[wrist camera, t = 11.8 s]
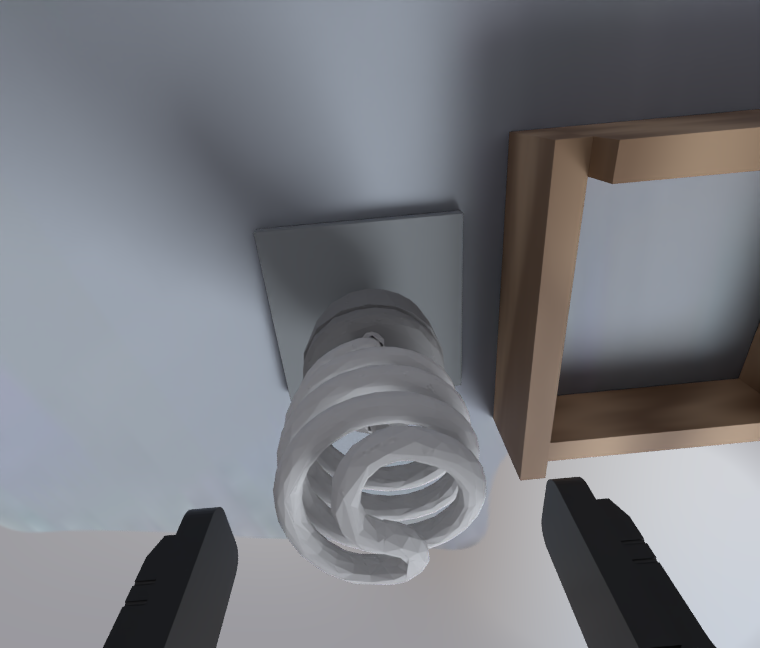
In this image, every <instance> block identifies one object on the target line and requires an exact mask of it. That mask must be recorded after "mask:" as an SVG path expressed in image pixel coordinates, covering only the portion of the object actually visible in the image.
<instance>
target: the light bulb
mask: <svg viewBox="0 0 760 648" xmlns="http://www.w3.org/2000/svg"><path fill="white" fill-rule="evenodd" d="M408 425H417V426H408ZM421 426H422V427H421ZM354 431H357V432H363V433H369V434H370V435H368V436H367V437H365V438H363V439H362V440H360V441H359V442H357V443H356V444H354V445H353V446H352V447H351V448H350V449H349V451H348V452H347V453H346V455H344V454H342V453H341V452H339V451H338V450H337V449H335V448H334V447H333V446H332V445H331V444H332V443H334V442H336V441H337V440H339V439H341V438H342V437H344V436H346V435H347V434H349V433H352V432H354ZM479 452H480V451H479V444H478V440H477V436H476V434H475V432H474V430H473V428H472V427H471V422H470V415H469V412H468V410H467V407H466V405H465V403H464V401H463V399H462V397H461V396H460V395H459V394H458V392H457V391H456V390H455V387H454V385H453V382H452V380H451V378H450V377H449V376H448V374H447V373H446V372H445V370H444V357H443V349H442V347H441V345H440V343H439V341H438V338H437V336H436V334H435V332H434V330H433V328H432V326H431V324H430V322H429V321H428V319H427V318H426V317H425V315H424V314H423V313H422V311H421V310H420V309H419V308H418V306H417V305H416V304H415V303H413V302H412V301H411V300H410V299H408V298H406V297H404V296H402V295H400V294H399V293H395V292H391V291H388V290H384V289H363V290H359V291H355V292H351V293H348V294H347V295H345V296H343V297H341V298H340V299H338V300H336V301H334V302H333V303H331V304H330V305H329V307H328V308H327V309H326V310H325V312H324V313H323V314H322V315H321V316H320V318H319V319H318V320H317V321H316V324H315V326H314V329H313V331H312V334H311V336H310V339H309V341H308V344H307V346H306V349H305V351H304V365H303V381H302V383H301V385H300V386H299V389H298V391H297V392H296V393H295V395H294V397H293V399H292V401H291V404H290V406H289V408H288V411H287V413H286V418H285V425H284V428H283V430H282V433H281V437H280V442H279V446H278V450H277V470H276V476H275V482H274V488H273V493H274V502H275V509H276V513H277V517H278V522H279V523H280V525H281V527H282V529H283V531H284V533H285V535H286V537H287V538H288V540H289V541H290V542H291V544H292V545H293V546H294V547H295V549H296V550H297V551H298V552H299V554H300V555H301V556H302V557H303V558H305V559H306V560H308V561H309V562H310V563H311V564H313V565H314V566H315V567H317V568H318V569H320V570H321V571H323V572H324V573H326V574H328V575H331V576H333V577H336V578H339V579H341V580H344V581H347V582H350V583H354V584H380V585H393V584H398V583H403V582H407V581H408V580H410V579H411V578H413V577H415V576H416V575H418V574H420V573H421V572H422V571H423V569H424V568H425V567H426V565H427V563H428V562H429V560H430V559H429V552H428V549H430V548H432V547H435V546H438V545H440V544H443V543H446V542H447V541H449V540H451V539H453V538H454V537H456V536H457V535H459V534H460V533H461V532H463V531H464V530H465V529H466V528H467V527H468V526H469V525H470V524H471V523H472V522H473V521H474V520H475V518H476V517H477V516H478V515H479V513H480V510H481V508H482V506H483V504H484V501H485V497H486V478H485V475H484V471H483V467H482V465H481V463H480V462H479ZM397 461H414V462H411V463H409V464H404V465H397V466H391V467H383V466H386V465H389V464H391V463H394V462H397ZM328 473H329V474H330V475H332V476H333V477H332V476H330V475H329V474H328ZM443 474H444V475H443ZM442 475H443V476H442ZM441 476H442V477H441ZM439 477H441V478H440V479H439V480H438V481H437V482H435V483H434V484H432V485H430V486H428V487H426V488H424V489H422V490H419V491H416V492H412V493H409V494H403V495H394V496H385V495H373V494H368V493H365V492H362V489H367V490H378V491H397V490H405V489H411V488H415V487H418V486H421V485H425V484H428V483H429V482H431V481H433V480H435V479H437V478H439ZM450 503H451V504H450ZM448 504H450V506H449V507H448V508H446V509H445V510H443V511H442V512H441V513H439V514H438V515H436V516H435V517H432V518H429V519H427V520H424V521H421V522H418V523H414V524H409V525H405V524H402V523H399V522H396V521H403V520H409V519H414V518H419V517H422V516H425V515H429V514H432V513H435V512H437V511H438V510H440V509H442V508H443V507H445V506H447V505H448ZM329 506H330V507H331V508H330V507H329ZM320 533H321V534H320ZM323 535H324V536H326V537H328V538H330V539H332V540H334V541H336V542H338V543H340V544H342V545H345V546H348V547H352V548H355V549H360V550H363V551H365V552H371V553H377V554H358V553H353V552H350V551H346V550H344V549H342V548H340V547H338V546H337V545H335V544H333V543H332V542H330V541H328V540H327V539H326V538H325V537H324V536H323Z"/></svg>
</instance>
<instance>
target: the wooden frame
mask: <svg viewBox="0 0 760 648" xmlns="http://www.w3.org/2000/svg"><path fill="white" fill-rule="evenodd" d="M759 170H760V109H755V110H744V111H733V112H722V113H711V114H700V115H689V116H678V117H667V118H656V119H645V120H634V121H623V122H612V123H601V124H590V125H579V126H568V127H557V128H546V129H535V130H524V131H513V132H509V149H508V166H507V184H506V202H505V219H504V237H503V255H502V272H501V290H500V308H499V325H498V343H497V361H496V379H495V396H494V414H493V419H494V421H495V424H496V426H497V428H498V430H499V433H500V435H501V437H502V440H503V442H504V444H505V447H506V449H507V451H508V453H509V456H510V458H511V460H512V463H513V465H514V467H515V469H516V472H517V474H518V476H519V479H520V480H529V479H540V478H545V476H546V468H547V462H548V461H556V460H566V459H575V458H586V457H597V456H607V455H618V454H628V453H639V452H649V451H659V450H670V449H680V448H690V447H701V446H711V445H721V444H731V443H742V442H753V441H760V323H759V326H758V328H757V331H756V333H755V336H754V339H753V341H752V344H751V347H750V349H749V352H748V355H747V357H746V360H745V362H744V365H743V368H742V370H741V373H740V376H739V378H737V379H727V380H716V381H706V382H695V383H685V384H675V385H664V386H654V387H643V388H633V389H622V390H612V391H601V392H591V393H580V394H570V395H559V396H557V391H558V384H559V377H560V370H561V363H562V355H563V348H564V341H565V334H566V327H567V320H568V313H569V306H570V299H571V292H572V285H573V278H574V270H575V263H576V256H577V249H578V242H579V235H580V228H581V221H582V214H583V207H584V200H585V192H586V185H587V178H588V177H591V178H595V179H598V180H601V181H604V182H608V183H611V184H618V183H628V182H639V181H650V180H661V179H672V178H683V177H694V176H705V175H715V174H726V173H737V172H748V171H759Z"/></svg>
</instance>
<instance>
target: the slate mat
mask: <svg viewBox="0 0 760 648" xmlns="http://www.w3.org/2000/svg"><path fill="white" fill-rule="evenodd" d="M254 237H255V242H256V246H257V251H258V255H259V260H260V265H261V269H262V274H263V278H264V283H265V287H266V292H267V296H268V301H269V305H270V310H271V314H272V319H273V323H274V328H275V332H276V337H277V341H278V346H279V350H280V355H281V359H282V364H283V368H284V373H285V377H286V382H287V386H288V391H289V395H290V400H291V401H292V399H293V397H294V395H295V393H296V392H297V391H298V389H299V386H300V385H301V383H302V381H303V365H304V351H305V349H306V346H307V344H308V341H309V339H310V336H311V334H312V331H313V329H314V326H315V324H316V321H317V320H318V319H319V318H320V316H321V315H322V314H323V313H324V312H325V310H326V309H327V308H328V307H329V305H330V304H331V303H333V302H334V301H336V300H338V299H340V298H341V297H343V296H345V295H347V294H348V293H351V292H355V291H359V290H363V289H384V290H388V291H391V292H395V293H399V294H400V295H402V296H404V297H406V298H408V299H410V300H411V301H412V302H413V303H415V304H416V305H417V306H418V308H419V309H420V310H421V311H422V313H423V314H424V315H425V317H426V318H427V319H428V321H429V322H430V324H431V326H432V328H433V330H434V332H435V334H436V336H437V338H438V341H439V343H440V345H441V347H442V349H443V357H444V370H445V372H446V373H447V374H448V376H449V377H450V378H451V380H452V382H453V385H454V386H457V385H461V365H462V276H463V213H462V212H461V211H460V210H459V211H448V212H437V213H426V214H415V215H404V216H394V217H383V218H372V219H361V220H350V221H339V222H329V223H318V224H307V225H296V226H285V227H274V228H263V229H256V230H255V232H254Z"/></svg>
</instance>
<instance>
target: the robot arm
mask: <svg viewBox="0 0 760 648" xmlns="http://www.w3.org/2000/svg"><path fill="white" fill-rule="evenodd" d="M542 532H543V537H544V541H545V544H546V547H547V549H548V552H549V554H550V557H551V559H552V562H553V564H554V566H555V569H556V571H557V573H558V576H559V578H560V581H561V583H562V586H563V588H564V590H565V593H566V595H567V598H568V600H569V602H570V605H571V607H572V610H573V612H574V614H575V617H576V619H577V622H578V624H579V626H580V629H581V631H582V634H583V636H584V638H585V641H586V643H587V646H588V648H716V647H715V646H714V645H713V643H712V642H711V641H710V639H709V638H708V636H707V635H706V633H705V632H704V630H703V629H702V627H701V626H700V624H699V623H698V621H697V620H696V618H695V617H694V615H693V613H692V612H691V611H690V609H689V607H688V606H687V604H686V603H685V601H684V600H683V598H682V596H681V595H680V594H679V592H678V590H677V589H676V587H675V586H674V584H673V583H672V581H671V580H670V578H669V576H668V575H667V573H666V572H665V570H664V569H663V568H662V566H661V564H660V563H658V562H657V560H656V556H655V555H654V553H653V552H652V550H651V549H650V548H649V546H648V544H647V543H645V542H644V538H643V536H642V535H641V533H640V532H639V530H638V529H637V527H636V526H635V524H634V523H633V521H632V520H631V518H630V517H629V516H628V515H627V514H626V513H625V512H624V511H623V510H621V509H620V508H619V507H618V506H617V505H616V504H614V503H613V502H612V501H611V500H610V499H597V500H596V499H595V497H594V495H593V494H592V492H591V490H590V488H589V487H588V485H587V483H586V482H585V481H584V480H583V479H582V478H581V477H572V478H560V479H550V480H548V481H547V485H546V492H545V499H544V506H543V513H542ZM237 565H238V549H237V545H236V542H235V539H234V536H233V534H232V531H231V528H230V526H229V523H228V520H227V517H226V515H225V512H224V510H223V508H221V507H214V508H203V509H192V510H189V511H187V513H186V514H185V515H184V517H183V519H182V522H181V524H180V526H179V529H178V531H177V533H176V535H168V536H164V538H163V539H162V540H161V541H160V542H159V543H158V544H157V546H156V547H155V548H154V549H153V550H152V551H151V553H150V554H149V555H148V556H147V557H146V559H145V561H144V563H143V565H142V567H141V570H140V572H139V574H138V576H137V578H136V580H135V585H134V586H132V588H131V590H130V592H129V595H128V596H127V599H126V601H125V606H124V607H122V609H121V611H120V613H119V615H118V617H117V619H116V622H115V624H114V626H113V628H112V630H111V632H110V634H109V636H108V638H107V640H106V642H105V645H104V647H103V648H216V646H217V642H218V638H219V634H220V630H221V627H222V623H223V619H224V616H225V612H226V609H227V605H228V601H229V598H230V594H231V590H232V586H233V583H234V579H235V575H236V571H237Z"/></svg>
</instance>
